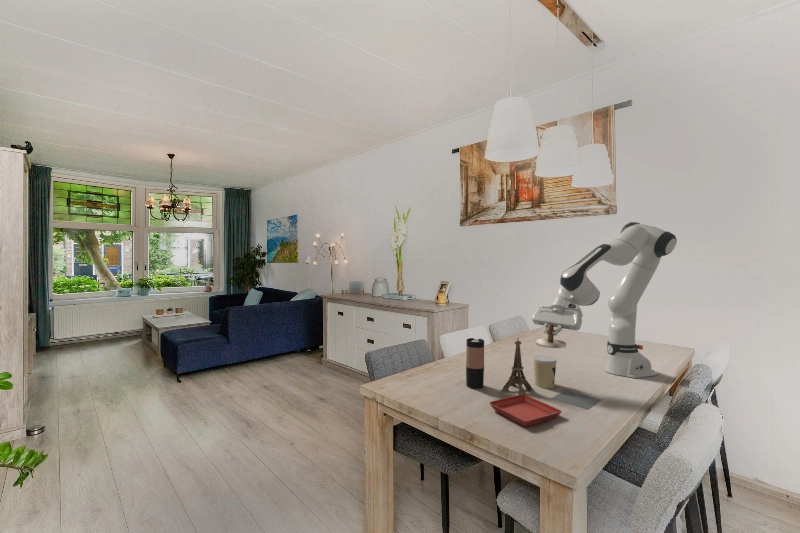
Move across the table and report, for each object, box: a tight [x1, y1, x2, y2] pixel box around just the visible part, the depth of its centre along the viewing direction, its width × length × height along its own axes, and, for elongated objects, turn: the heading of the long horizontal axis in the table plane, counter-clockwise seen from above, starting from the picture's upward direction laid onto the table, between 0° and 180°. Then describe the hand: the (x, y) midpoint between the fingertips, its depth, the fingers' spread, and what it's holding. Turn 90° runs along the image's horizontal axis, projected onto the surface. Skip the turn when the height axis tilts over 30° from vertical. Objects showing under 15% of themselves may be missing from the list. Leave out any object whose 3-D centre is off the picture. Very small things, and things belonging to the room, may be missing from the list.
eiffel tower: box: [499, 338, 534, 395], centre depth 158 cm, size 11×11×25 cm
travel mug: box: [465, 337, 485, 390], centre depth 163 cm, size 8×8×20 cm
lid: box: [535, 324, 567, 349], centre depth 160 cm, size 12×12×8 cm
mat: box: [550, 389, 603, 411], centre depth 149 cm, size 14×14×1 cm
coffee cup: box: [533, 355, 558, 389], centre depth 164 cm, size 9×9×12 cm
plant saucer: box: [488, 394, 563, 428], centre depth 136 cm, size 18×18×3 cm
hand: (550, 334), depth 160 cm, fingers closed on lid, 2 cm apart
